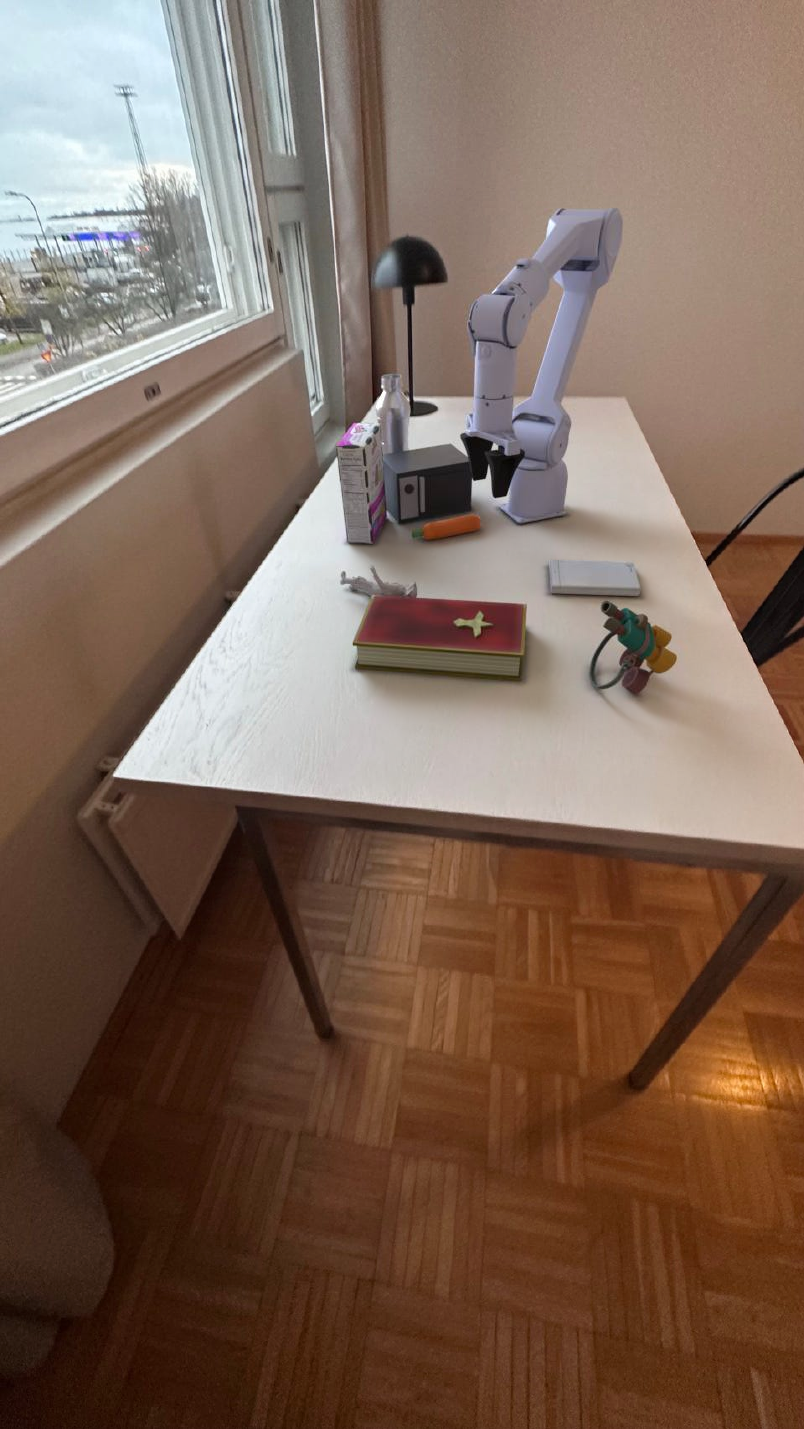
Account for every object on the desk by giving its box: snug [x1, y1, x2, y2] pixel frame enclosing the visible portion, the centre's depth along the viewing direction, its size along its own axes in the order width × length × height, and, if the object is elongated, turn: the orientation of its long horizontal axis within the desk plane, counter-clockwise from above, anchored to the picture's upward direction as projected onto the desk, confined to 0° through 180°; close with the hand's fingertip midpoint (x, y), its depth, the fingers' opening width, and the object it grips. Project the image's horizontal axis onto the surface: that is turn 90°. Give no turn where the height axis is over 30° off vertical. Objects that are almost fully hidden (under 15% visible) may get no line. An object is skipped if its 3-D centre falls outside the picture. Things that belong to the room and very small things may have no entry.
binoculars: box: [589, 600, 678, 695], centre depth 74 cm, size 9×9×10 cm
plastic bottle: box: [375, 373, 411, 454], centre depth 119 cm, size 6×7×20 cm
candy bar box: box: [335, 422, 388, 545], centre depth 106 cm, size 11×5×16 cm, turn 168°
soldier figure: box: [339, 564, 418, 598], centre depth 92 cm, size 8×5×12 cm
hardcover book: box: [351, 595, 528, 682], centre depth 82 cm, size 12×21×4 cm, turn 80°
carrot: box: [410, 513, 482, 541], centre depth 107 cm, size 12×3×3 cm, turn 109°
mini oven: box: [383, 443, 473, 525], centre depth 114 cm, size 11×14×9 cm
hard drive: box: [548, 559, 641, 597], centre depth 94 cm, size 2×8×12 cm
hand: (489, 487), depth 99 cm, fingers open, 7 cm apart
